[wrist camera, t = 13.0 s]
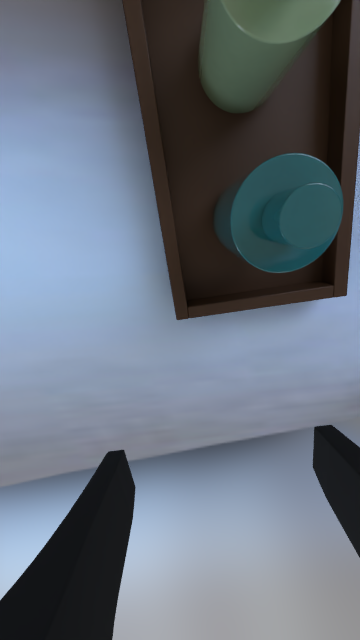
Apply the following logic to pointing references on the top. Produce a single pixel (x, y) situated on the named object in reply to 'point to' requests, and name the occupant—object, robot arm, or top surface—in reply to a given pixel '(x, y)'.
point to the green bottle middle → (254, 46)
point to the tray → (241, 152)
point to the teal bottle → (280, 213)
